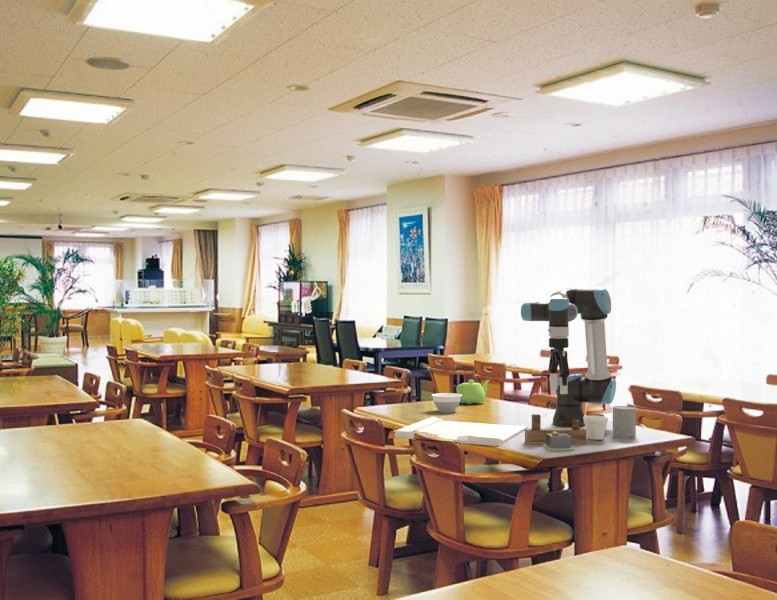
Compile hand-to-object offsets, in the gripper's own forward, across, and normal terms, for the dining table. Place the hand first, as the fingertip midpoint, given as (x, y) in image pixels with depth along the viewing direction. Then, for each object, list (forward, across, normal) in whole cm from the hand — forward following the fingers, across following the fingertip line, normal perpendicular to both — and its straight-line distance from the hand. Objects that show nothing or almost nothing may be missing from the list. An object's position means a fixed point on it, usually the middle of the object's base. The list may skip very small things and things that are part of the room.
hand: (558, 391), depth 312 cm
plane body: (+22, -11, +2) cm, 25 cm away
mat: (+22, 0, 0) cm, 22 cm away
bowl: (+23, -103, -29) cm, 109 cm away
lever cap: (+21, 0, 0) cm, 21 cm away
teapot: (+23, -134, -9) cm, 136 cm away
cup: (+22, -18, +21) cm, 35 cm away
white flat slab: (+23, -36, -32) cm, 53 cm away
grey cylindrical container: (+22, -23, +35) cm, 48 cm away
